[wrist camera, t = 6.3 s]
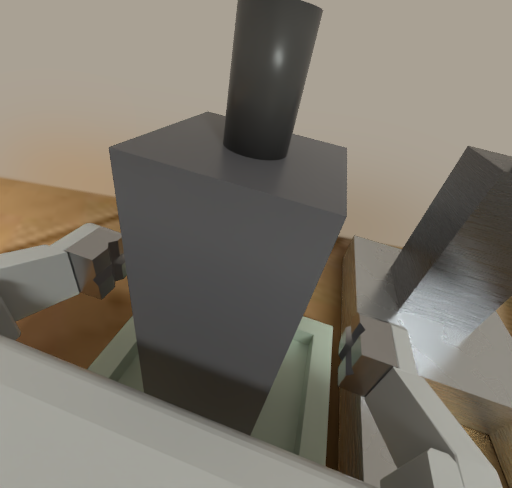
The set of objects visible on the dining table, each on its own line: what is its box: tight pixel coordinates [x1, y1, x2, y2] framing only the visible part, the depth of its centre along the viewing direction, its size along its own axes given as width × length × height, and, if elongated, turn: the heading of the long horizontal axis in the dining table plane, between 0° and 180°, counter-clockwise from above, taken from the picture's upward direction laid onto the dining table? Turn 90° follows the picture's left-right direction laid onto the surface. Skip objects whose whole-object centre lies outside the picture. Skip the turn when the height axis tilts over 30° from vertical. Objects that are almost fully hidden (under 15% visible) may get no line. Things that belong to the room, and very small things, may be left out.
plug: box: [109, 0, 347, 436], centre depth 8 cm, size 4×4×13 cm
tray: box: [87, 316, 333, 466], centre depth 12 cm, size 10×10×2 cm
